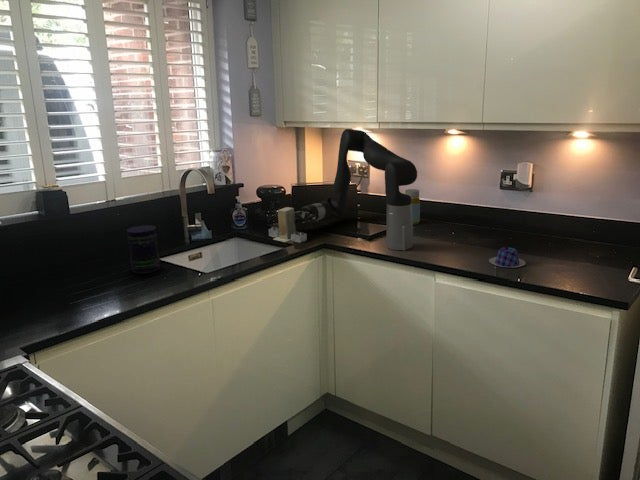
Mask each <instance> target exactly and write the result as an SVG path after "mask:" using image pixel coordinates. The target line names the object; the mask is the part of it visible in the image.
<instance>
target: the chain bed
mask: <svg viewBox="0 0 640 480" xmlns="http://www.w3.org/2000/svg"><path fill="white" fill-rule="evenodd" d="M268 236H269V237H272V238H277V237H279V227H277V226H271V227H270V228H269V229H268ZM307 236H308V235H307V233H305V232H303V231H298V230H295V231H294V232H293V233H292V234H291V242H295V243H300V244H301V243H304V242H306V241H308V240H307V239H308V238H307Z"/></svg>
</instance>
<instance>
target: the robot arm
mask: <svg viewBox="0 0 640 480" xmlns="http://www.w3.org/2000/svg"><path fill="white" fill-rule="evenodd" d="M349 151H350V152H358V153H362V154H363V159H364V161H365V162H366V163H367V164H368V165H370V167H372V168H374V169H377V170H379V171H384V184H385V185H384V188H385V198H386V249H388V250H392V251H393V250H394V251H406V250H409V249H411V248H413V247H414V243H413V242H414V241H413V240H414V225H413V223H411V197H410V196H409V195H407V194H405V193H403V192H402V191H400V187H403V186H409V185H411V184H414V183H415V182H416V180H417V178H418V169H417V168H416V166H415V164H414V162H412V161H410V160H408V159H407V158H404V157H402V156H399V155H397V154H396V153H395V152H394V151H391V150H390V149H388V148H387V147H385V146H384V145H382V144H380V143H379V142H377V141H376V140H374V139H373V138H372V137H371V136H370V135H369V134H368V133H367V132H365V131H363V130H359V129H352V128H346V129H344V130H343V132H342V133H341V136H340V140H339V147H338V156H337V166H336V173H335V177H334V181H333V185H332V192H333V193H334V194H335V196H333V195H332V196H331V195H330V196H328V197H326V198H325V199H324V200H322V201H321V202H318V203H316V202H315V203H312V204H308V205H304V206H302V207H301V208H300V210H297V211H294V214H295V220H294V222H295V225H299V224H310V223H315V222H317V221H319V220H321V219H325V218H328V217H329V216H331V215H332V213H333V214H334V215H337V216H339V217H341V216H345V214H346V212H347V211H348V206H349V205H348V204H349V203H348V201H349V200H348V199H349V198H348V193H349V188H350V185H351V181H352V176H351V175H352V173H351V170H350V167H349V164H348V163H349V162H348V153H349Z"/></svg>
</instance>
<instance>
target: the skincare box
mask: <svg viewBox="0 0 640 480" xmlns="http://www.w3.org/2000/svg"><path fill="white" fill-rule="evenodd" d="M294 212H295V208H294V207H289V206H286V207H283V208H279V209H278V210H277V218H278V228H279V238H282V239H290V238H291V234H292V233H293V232H294V231H296V224H295V222H294V220H295V214H294Z"/></svg>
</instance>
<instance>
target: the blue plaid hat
mask: <svg viewBox="0 0 640 480" xmlns="http://www.w3.org/2000/svg"><path fill="white" fill-rule="evenodd" d="M488 261H489V263H491V264H492V265H494V266H498V267H500V268H501V267H502V268H505V267H506V268H513V267H514V268H520V267H522V266H525V265H526V261H525V260H523V259H521V258H519V252H518V250H517V249H516V248H513V247H501V248H499V249H498V252H497V255H496V256H494V257H491V258H489V259H488Z"/></svg>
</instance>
